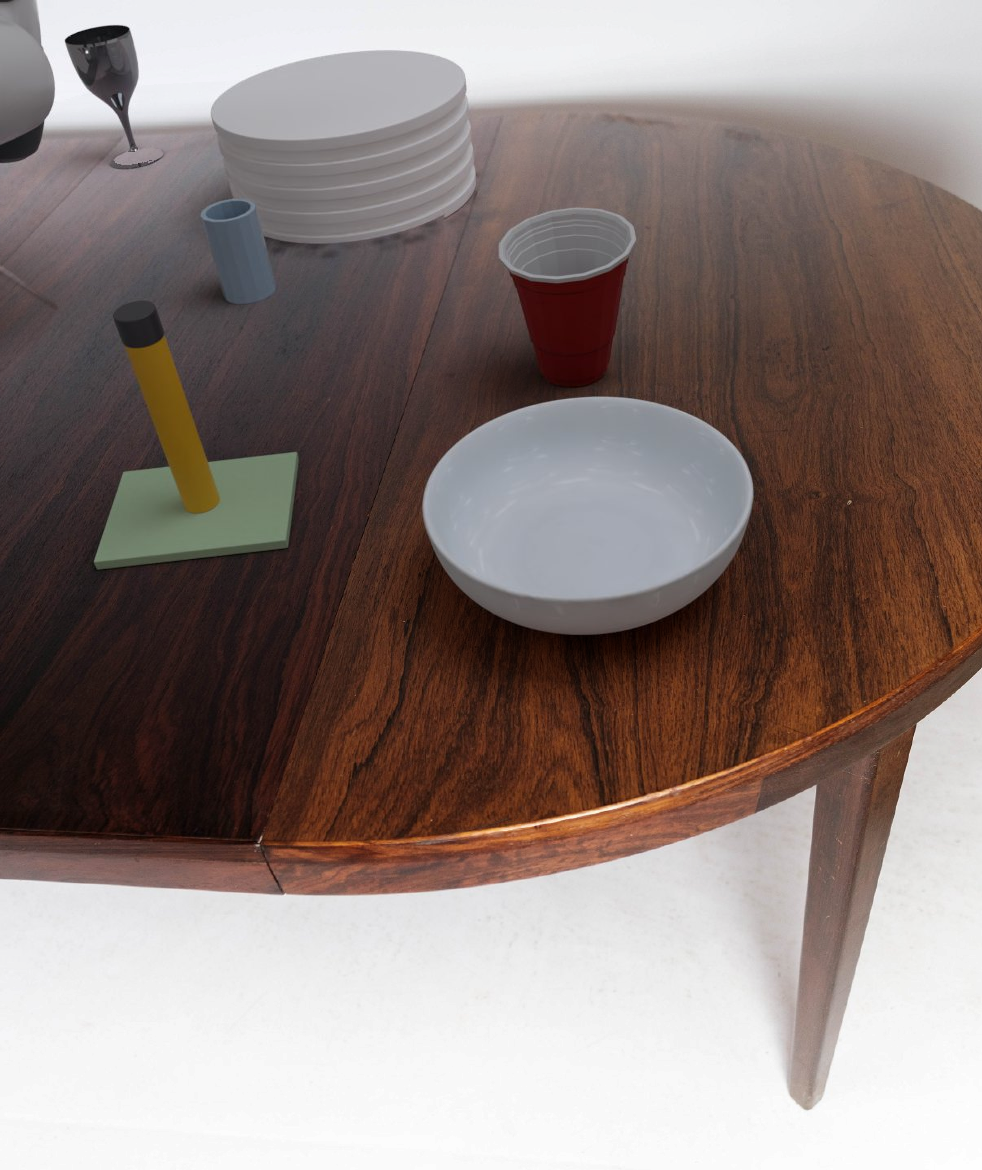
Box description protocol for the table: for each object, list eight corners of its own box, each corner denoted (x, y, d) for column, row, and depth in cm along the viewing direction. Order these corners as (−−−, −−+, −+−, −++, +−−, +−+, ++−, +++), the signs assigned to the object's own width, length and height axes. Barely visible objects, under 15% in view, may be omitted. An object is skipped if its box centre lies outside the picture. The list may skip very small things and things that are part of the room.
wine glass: (179, 148, 140) (143, 26, 130) (141, 172, 135) (100, 46, 125) (132, 145, 143) (93, 24, 133) (93, 167, 138) (50, 44, 128)
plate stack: (193, 206, 125) (163, 106, 117) (378, 132, 137) (363, 37, 129) (329, 272, 108) (306, 161, 100) (526, 181, 121) (518, 75, 113)
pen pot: (222, 312, 104) (197, 224, 98) (229, 287, 108) (204, 202, 102) (274, 306, 104) (252, 218, 98) (279, 281, 108) (257, 195, 102)
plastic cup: (485, 387, 89) (469, 253, 81) (551, 328, 95) (543, 199, 87) (597, 418, 84) (592, 279, 76) (659, 354, 90) (661, 219, 82)
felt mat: (96, 570, 76) (93, 561, 76) (126, 479, 84) (123, 471, 84) (288, 548, 76) (285, 539, 75) (299, 459, 84) (297, 451, 83)
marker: (181, 516, 79) (108, 323, 68) (186, 493, 81) (117, 303, 70) (218, 511, 79) (151, 318, 68) (222, 489, 81) (158, 298, 70)
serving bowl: (499, 455, 82) (491, 379, 77) (772, 497, 75) (781, 416, 70) (384, 640, 68) (365, 561, 63) (705, 712, 61) (711, 629, 56)
